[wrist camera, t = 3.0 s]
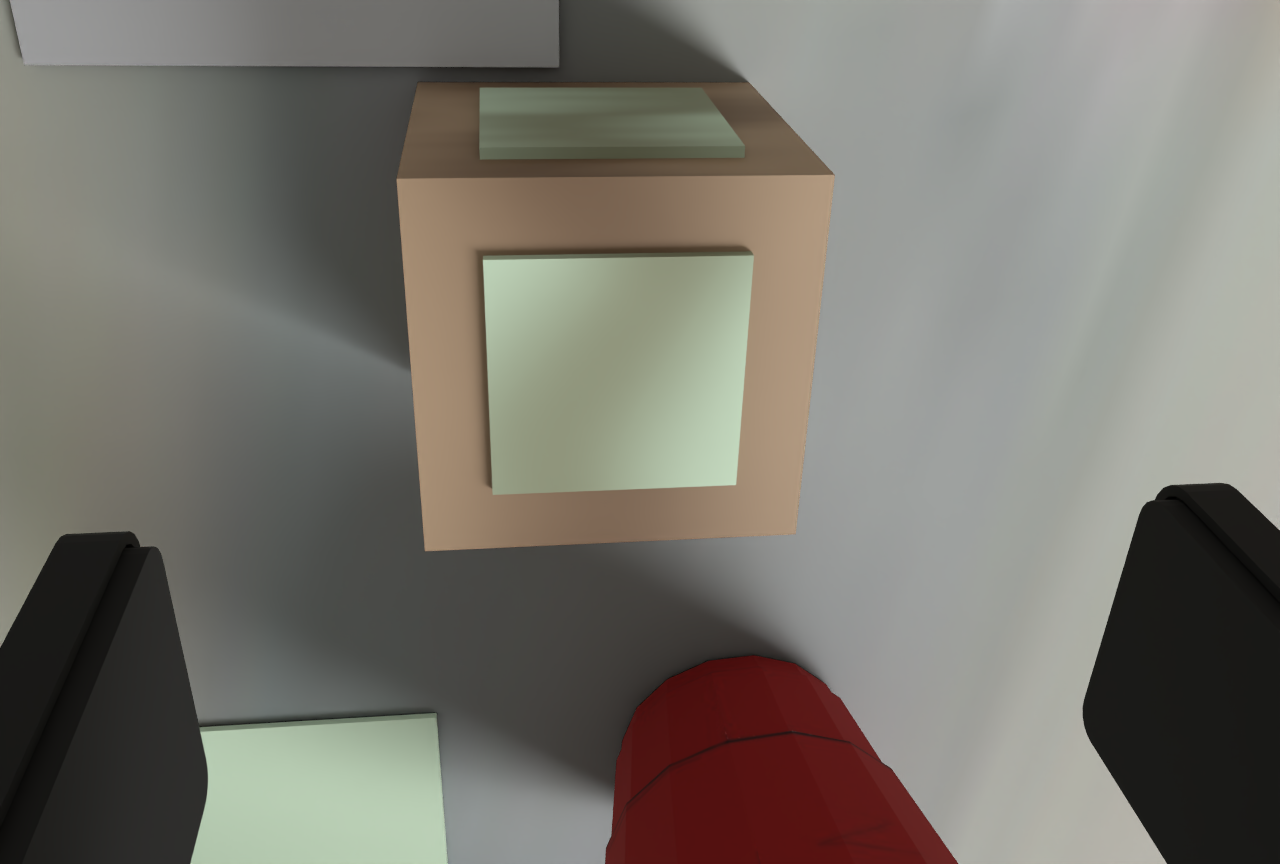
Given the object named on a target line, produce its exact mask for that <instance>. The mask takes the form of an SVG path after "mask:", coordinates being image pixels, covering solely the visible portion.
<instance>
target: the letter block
mask: <svg viewBox="0 0 1280 864" xmlns="http://www.w3.org/2000/svg"><path fill="white" fill-rule="evenodd" d="M834 177H835V175H834V174H833V172H832V171H831V170H830V169H829V168H828V167H827V166H826V165H825V164H824V163H823V162H822V161H821V160H820V158H819V157H818V156H817V155H816V154H815V153H814V152H813V151H812V150H811V149H810V148H809V147H808V145H807V144H806V143H805V142H804V141H803V140H802V139H801V138H800V137H799V136H798V135H797V134H796V133H795V131H794V130H793V129H792V128H791V127H790V126H789V125H788V124H787V123H786V122H785V121H784V120H783V118H782V117H781V116H780V115H779V114H778V113H777V112H776V111H775V110H774V109H773V108H772V107H771V106H770V104H769V103H768V102H767V101H766V100H765V99H764V98H763V97H762V96H761V95H760V94H759V93H758V91H757V90H756V89H755V88H754V87H753V86H752V85H751V84H750V83H749V82H418V83H417V88H416V92H415V97H414V101H413V106H412V110H411V115H410V119H409V124H408V129H407V133H406V138H405V142H404V147H403V151H402V156H401V160H400V165H399V170H398V174H397V192H398V205H399V218H400V231H401V245H402V258H403V271H404V284H405V297H406V310H407V323H408V336H409V349H410V363H411V376H412V389H413V402H414V415H415V428H416V441H417V454H418V467H419V481H420V494H421V507H422V520H423V533H424V546H425V551H441V550H463V549H485V548H506V547H528V546H550V545H572V544H594V543H615V542H637V541H659V540H681V539H703V538H725V537H746V536H768V535H790V534H796V525H797V516H798V507H799V498H800V489H801V479H802V470H803V461H804V452H805V443H806V434H807V424H808V415H809V406H810V397H811V388H812V379H813V370H814V360H815V351H816V342H817V333H818V324H819V315H820V306H821V296H822V287H823V278H824V269H825V260H826V251H827V241H828V232H829V223H830V214H831V205H832V196H833V187H834Z"/></svg>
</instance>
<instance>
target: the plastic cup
mask: <svg viewBox="0 0 1280 864" xmlns="http://www.w3.org/2000/svg"><path fill="white" fill-rule="evenodd" d="M605 864H958V863H957V861H956V860H955V858H954V857H953V856H952V854H951V853H950V851H949V850H948V848H947V847H946V846H945V844H944V843H943V841H942V840H941V838H940V837H939V836H938V834H937V833H936V831H935V830H934V828H933V827H932V826H931V824H930V823H929V821H928V820H927V819H926V817H925V816H924V814H923V813H922V811H921V810H920V809H919V807H918V806H917V804H916V803H915V801H914V800H913V799H912V797H911V796H910V794H909V793H908V792H907V790H906V789H905V787H904V786H903V784H902V783H901V782H900V780H899V779H898V777H897V776H896V774H895V773H894V772H893V770H892V769H891V768H890V767H888V766H887V765H885V764H884V763H882V762H881V760H880V759H879V757H878V755H877V754H876V752H875V751H874V749H873V748H872V746H871V745H870V743H869V742H868V740H867V739H866V737H865V736H864V734H863V732H862V731H861V729H860V728H859V726H858V725H857V723H856V722H855V720H854V719H853V717H852V716H851V714H850V713H849V711H848V709H847V708H846V706H845V705H844V703H843V702H842V700H841V699H840V698H839V697H838V696H836V695H835V694H833V693H832V692H831V691H830V690H829V688H828V687H827V685H826V684H825V683H823V682H822V681H820V680H819V679H817V678H816V677H814V676H813V675H811V674H810V673H808V672H807V671H805V670H804V669H802V668H801V667H799V666H798V665H796V664H794V663H789V662H785V661H780V660H775V659H770V658H765V657H760V656H755V655H752V656H743V657H735V658H727V659H719V660H711V661H707V662H705V663H702V664H700V665H698V666H696V667H694V668H691V669H689V670H687V671H685V672H682V673H680V674H678V675H676V676H674V677H671V678H669V679H667V680H666V681H665V682H664V683H663V684H662V685H661V686H660V687H658V688H657V689H656V690H655V691H654V692H653V693H652V694H651V695H650V696H649V697H648V698H647V699H646V700H645V701H644V702H642V703H641V704H640V705H639V706H638V707H637V708H636V711H635V713H634V715H633V717H632V720H631V722H630V724H629V727H628V729H627V731H626V733H625V736H624V738H623V740H622V749H621V751H620V754H619V756H618V758H617V760H616V775H615V790H614V805H613V820H612V835H611V838H610V840H609V842H608V845H607V847H606V858H605Z"/></svg>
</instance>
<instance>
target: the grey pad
mask: <svg viewBox="0 0 1280 864" xmlns="http://www.w3.org/2000/svg"><path fill="white" fill-rule="evenodd" d="M10 4H11V8H12V13H13V17H14V22H15V26H16V31H17V35H18V40H19V44H20V49H21V53H22V58H23V62H24V65H104V66H344V67H559V0H10Z"/></svg>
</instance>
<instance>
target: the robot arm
mask: <svg viewBox="0 0 1280 864" xmlns="http://www.w3.org/2000/svg"><path fill="white" fill-rule="evenodd" d="M1083 721H1084V726H1085V729H1086V733H1087V735H1088V737H1089V739H1090V741H1091V743H1092V745H1093V746H1094V748H1095V749H1096V751H1097V753H1098V754H1099V756H1100V757H1101V759H1102V760H1103V762H1104V764H1105V765H1106V767H1107V768H1108V770H1109V772H1110V773H1111V775H1112V776H1113V778H1114V780H1115V781H1116V783H1117V784H1118V786H1119V788H1120V789H1121V791H1122V792H1123V794H1124V796H1125V797H1126V799H1127V800H1128V802H1129V804H1130V805H1131V807H1132V808H1133V810H1134V812H1135V813H1136V815H1137V816H1138V818H1139V820H1140V821H1141V823H1142V824H1143V826H1144V827H1145V829H1146V831H1147V832H1148V834H1149V835H1150V837H1151V839H1152V840H1153V842H1154V843H1155V845H1156V847H1157V848H1158V850H1159V851H1160V853H1161V855H1162V856H1163V858H1164V859H1165V861H1166V863H1167V864H1280V530H1279V529H1277V528H1276V527H1275V526H1274V525H1273V524H1272V523H1271V522H1270V521H1269V520H1268V519H1267V518H1266V517H1265V516H1264V515H1263V514H1262V513H1261V512H1260V511H1259V510H1258V509H1257V508H1256V507H1255V506H1254V505H1252V504H1251V503H1250V502H1249V501H1248V500H1247V499H1246V498H1245V497H1244V496H1243V495H1242V494H1241V493H1240V492H1239V491H1238V490H1237V489H1235V488H1234V487H1232V486H1231V485H1229V484H1224V483H1208V484H1186V485H1170V486H1167V487H1165V488H1163V489H1162V490H1161V491H1160V492H1159V493H1158V494H1157V497H1156V499H1155V500H1153V501H1150V502H1147V503H1146V504H1145V505H1144V506H1143V507H1142V510H1141V512H1140V514H1139V517H1138V521H1137V524H1136V527H1135V531H1134V534H1133V537H1132V541H1131V544H1130V548H1129V551H1128V554H1127V558H1126V561H1125V564H1124V568H1123V571H1122V574H1121V578H1120V581H1119V584H1118V588H1117V591H1116V595H1115V598H1114V601H1113V605H1112V608H1111V611H1110V615H1109V618H1108V621H1107V625H1106V628H1105V631H1104V635H1103V638H1102V641H1101V645H1100V648H1099V652H1098V655H1097V658H1096V662H1095V665H1094V668H1093V672H1092V675H1091V678H1090V682H1089V685H1088V688H1087V692H1086V695H1085V699H1084V703H1083ZM207 790H208V768H207V761H206V756H205V751H204V747H203V742H202V738H201V733H200V728H199V724H198V719H197V715H196V710H195V705H194V701H193V696H192V692H191V687H190V683H189V678H188V673H187V669H186V664H185V660H184V655H183V650H182V646H181V641H180V637H179V632H178V628H177V623H176V618H175V614H174V609H173V605H172V600H171V595H170V591H169V586H168V582H167V577H166V573H165V568H164V563H163V559H162V556H161V553H160V551H159V550H158V548H156V547H140V544H139V541H138V539H137V538H136V536H135V534H133V533H131V532H130V531H128V532H106V533H83V534H66V535H63V536H61V537H60V538H59V540H58V541H57V542H56V544H55V546H54V548H53V549H52V551H51V553H50V555H49V557H48V559H47V561H46V563H45V565H44V566H43V568H42V570H41V572H40V574H39V576H38V578H37V580H36V582H35V583H34V585H33V587H32V589H31V591H30V593H29V595H28V597H27V598H26V600H25V602H24V604H23V606H22V608H21V610H20V612H19V614H18V615H17V617H16V619H15V621H14V623H13V625H12V627H11V629H10V631H9V632H8V634H7V636H6V638H5V640H4V642H3V644H2V646H1V648H0V864H190V863H191V859H192V855H193V851H194V848H195V844H196V840H197V836H198V832H199V828H200V824H201V820H202V816H203V812H204V808H205V804H206V799H207Z"/></svg>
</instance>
